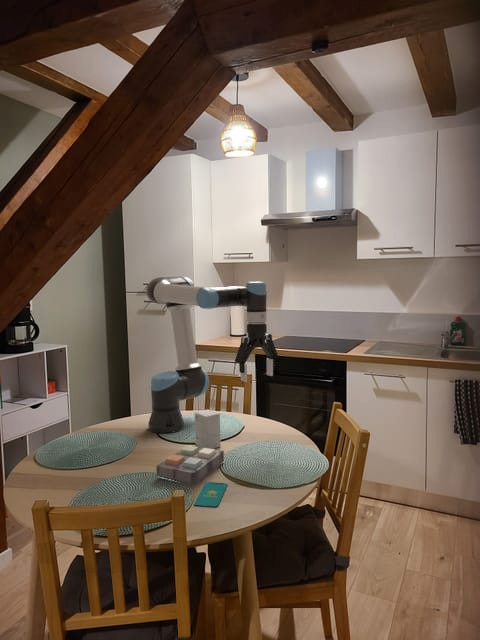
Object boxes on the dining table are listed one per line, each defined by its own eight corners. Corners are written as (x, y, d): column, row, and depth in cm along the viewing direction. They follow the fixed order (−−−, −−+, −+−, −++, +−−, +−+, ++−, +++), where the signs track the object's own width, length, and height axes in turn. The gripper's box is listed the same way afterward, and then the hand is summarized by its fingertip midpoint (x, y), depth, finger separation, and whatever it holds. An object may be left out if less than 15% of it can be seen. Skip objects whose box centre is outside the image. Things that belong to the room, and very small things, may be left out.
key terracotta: (166, 467, 157) (165, 458, 157) (173, 462, 161) (173, 454, 161) (177, 469, 156) (177, 461, 155) (184, 464, 160) (184, 456, 159)
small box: (221, 446, 183) (220, 413, 181) (207, 451, 179) (206, 416, 177) (208, 441, 189) (207, 408, 188) (195, 445, 185) (194, 412, 184)
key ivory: (197, 460, 163) (197, 452, 163) (204, 456, 167) (204, 447, 167) (209, 462, 161) (209, 454, 161) (215, 458, 165) (215, 449, 165)
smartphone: (192, 504, 137) (205, 481, 152) (192, 507, 137) (205, 484, 152) (217, 506, 136) (228, 483, 150) (218, 509, 136) (228, 485, 150)
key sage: (181, 457, 166) (181, 449, 165) (188, 453, 170) (187, 445, 169) (192, 459, 164) (192, 451, 164) (198, 455, 168) (198, 446, 167)
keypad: (156, 478, 155) (156, 466, 155) (189, 456, 173) (189, 445, 173) (194, 486, 150) (194, 473, 149) (223, 462, 167) (223, 450, 167)
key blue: (183, 471, 155) (183, 462, 154) (190, 466, 159) (190, 457, 158) (195, 473, 153) (194, 464, 152) (202, 468, 157) (201, 459, 156)
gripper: (238, 326, 170) (239, 385, 172) (286, 320, 187) (286, 374, 189) (224, 324, 176) (225, 381, 178) (272, 319, 192) (273, 371, 194)
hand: (257, 378), depth 183 cm, fingers open, 13 cm apart
